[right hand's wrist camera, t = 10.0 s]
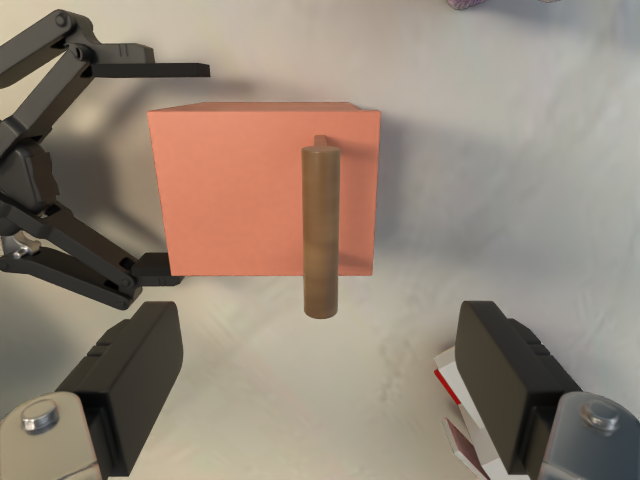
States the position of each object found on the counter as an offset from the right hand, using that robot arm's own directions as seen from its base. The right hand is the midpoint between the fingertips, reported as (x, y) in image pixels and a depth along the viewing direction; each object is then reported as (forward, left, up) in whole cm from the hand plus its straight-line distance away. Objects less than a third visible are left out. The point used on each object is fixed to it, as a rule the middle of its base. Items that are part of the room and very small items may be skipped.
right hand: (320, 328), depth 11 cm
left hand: (-7, 0, -18) cm, 20 cm away
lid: (-3, 0, -15) cm, 15 cm away
